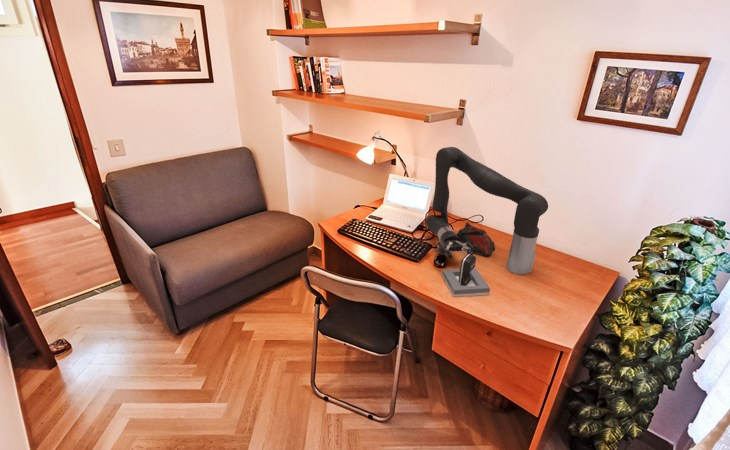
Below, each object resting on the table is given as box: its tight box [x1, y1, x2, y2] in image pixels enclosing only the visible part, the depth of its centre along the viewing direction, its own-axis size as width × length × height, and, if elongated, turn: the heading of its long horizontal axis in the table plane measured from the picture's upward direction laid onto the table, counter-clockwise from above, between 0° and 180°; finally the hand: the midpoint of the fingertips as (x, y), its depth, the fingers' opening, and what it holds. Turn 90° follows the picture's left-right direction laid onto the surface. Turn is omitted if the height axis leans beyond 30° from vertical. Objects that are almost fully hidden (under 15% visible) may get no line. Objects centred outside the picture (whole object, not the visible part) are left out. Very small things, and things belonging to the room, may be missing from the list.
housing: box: [441, 267, 491, 298], centre depth 144 cm, size 14×14×3 cm
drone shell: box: [456, 221, 496, 257], centre depth 175 cm, size 21×20×8 cm
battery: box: [459, 253, 477, 285], centre depth 143 cm, size 7×4×11 cm, turn 143°
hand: (461, 256), depth 147 cm, fingers open, 8 cm apart
